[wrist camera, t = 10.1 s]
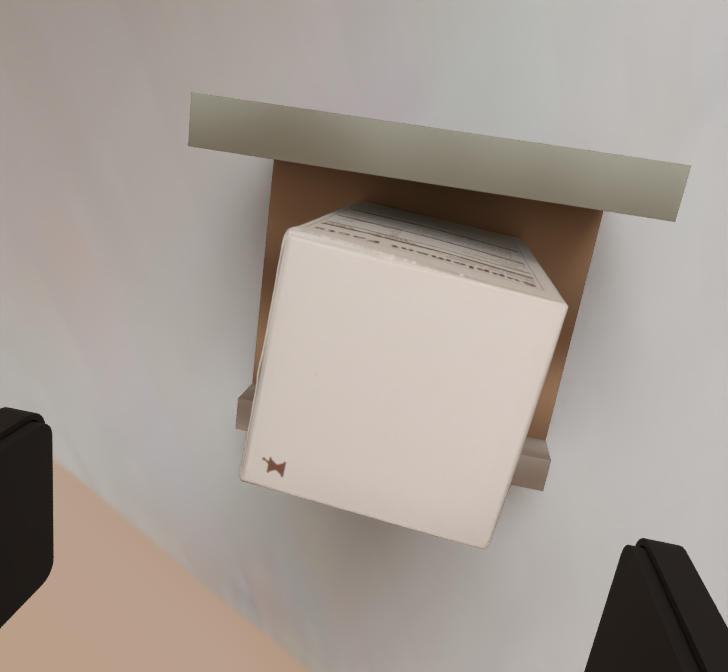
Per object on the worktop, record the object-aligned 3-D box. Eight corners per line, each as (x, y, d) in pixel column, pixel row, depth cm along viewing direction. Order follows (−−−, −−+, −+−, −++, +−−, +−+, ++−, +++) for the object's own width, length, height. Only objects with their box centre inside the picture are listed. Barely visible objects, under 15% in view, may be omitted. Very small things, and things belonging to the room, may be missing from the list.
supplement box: (479, 393, 29) (487, 564, 17) (323, 349, 30) (226, 485, 18) (529, 236, 27) (580, 305, 15) (360, 192, 27) (277, 224, 15)
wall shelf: (296, 114, 30) (191, 92, 18) (600, 159, 28) (691, 165, 17) (267, 389, 34) (167, 510, 23) (531, 441, 32) (566, 597, 21)
